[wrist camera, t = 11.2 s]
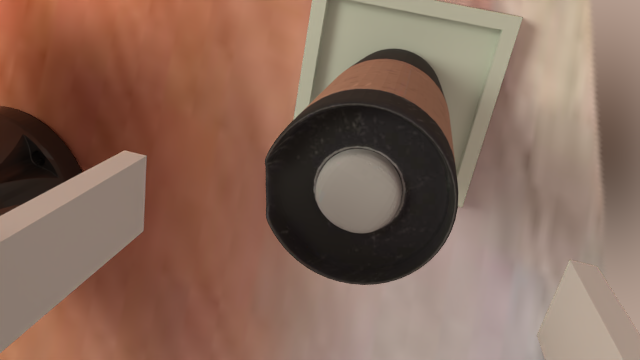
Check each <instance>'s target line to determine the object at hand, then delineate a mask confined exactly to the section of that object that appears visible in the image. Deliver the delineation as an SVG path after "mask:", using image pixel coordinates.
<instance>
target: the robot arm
mask: <svg viewBox="0 0 640 360" xmlns="http://www.w3.org/2000/svg"><path fill="white" fill-rule="evenodd" d="M146 160H147V156H146V155H142V154H138V153H134V152H130V151H125V150H124V151H122V152H120V153H118V154H117V155H115V156H113V157H111V158H109V159H107V160H105V161H103V162H101V163H100V164H98V165H96V166H94V167H92V168H90V169H88V170H86V171H84V172H83V173H82V172H81V170H80V168H79V166H78V163H77V162H76V160H75V158H74V156H73V155H72V153H71V152H70V150H69V149H68V147H67V146H66V145H65V144H64V142H63V141H62V140H61V139H60V138H59V137H58V136H57V135H56V134H55V133H54V132H53V131H52V130H51V129H50V128H48V127H47V126H46V125H45V124H43V123H42V122H40V121H39V120H37V119H36V118H34V117H32V116H30V115H29V114H26V113H24V112H22V111H19V110H16V109H13V108H9V107H3V106H0V353H1V352H2V351H3V350H4V349H5V348H7V347H8V346H9V345H10V344H11V343H13V342H14V341H15V340H16V339H17V338H18V337H20V336H21V335H22V334H23V333H24V332H25V331H27V330H28V329H29V328H30V327H31V326H33V325H34V324H35V323H36V322H37V321H38V320H40V319H41V318H42V317H43V316H44V315H45V314H47V313H48V312H49V311H50V310H51V309H53V308H54V307H55V306H56V305H57V304H58V303H60V302H61V301H62V300H63V299H64V298H65V297H67V296H68V295H69V294H70V293H71V292H72V291H74V290H75V289H76V288H77V287H78V286H80V285H81V284H82V283H83V282H84V281H85V280H87V279H88V278H89V277H90V276H91V275H92V274H94V273H95V272H96V271H97V270H98V269H100V268H101V267H102V266H103V265H104V264H105V263H107V262H108V261H109V260H110V259H111V258H112V257H114V256H115V255H116V254H117V253H118V252H120V251H121V250H122V249H123V248H124V247H125V246H127V245H128V244H129V243H130V242H131V241H132V240H134V239H135V238H136V237H137V236H138V235H139V234H141V233H142V232H143V231H144V210H145V185H146ZM537 337H538V340H539V343H540V346H541V349H542V352H543V355H544V358H545V360H640V334H639V332H638V331H637V329H636V328H635V326H634V325H633V323H632V321H631V320H630V318H629V317H628V315H627V314H626V312H625V310H624V308H623V307H622V305H621V304H620V302H619V300H618V299H617V297H616V296H615V294H614V292H613V291H612V289H611V287H610V286H609V284H608V283H607V281H606V279H605V278H604V276H603V275H602V273H601V271H600V270H599V268H598V267H597V266H594V265H590V264H586V263H582V262H578V261H574V260H569V263H568V265H567V267H566V270H565V272H564V274H563V276H562V279H561V281H560V283H559V286H558V288H557V290H556V293H555V295H554V297H553V300H552V302H551V304H550V307H549V309H548V311H547V313H546V316H545V318H544V320H543V323H542V325H541V327H540V330H539V332H538V334H537Z"/></svg>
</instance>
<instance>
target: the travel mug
mask: <svg viewBox="0 0 640 360" xmlns="http://www.w3.org/2000/svg"><path fill="white" fill-rule="evenodd" d="M265 166H266V218H267V221H268V224H269V226H270V228H271V229H272V231H273V233H274V234H275V236H276V237H277V239H278V240H279V242H280V243H281V244H282V245H283V247H284V248H285V249H286V250H287V251H288V252H289V253H290V254H291V255H292V256H293V257H294V258H295V259H296V260H297V261H299V262H300V263H301V264H303V265H304V266H306V267H307V268H309V269H310V270H312V271H314V272H316V273H318V274H320V275H322V276H324V277H327V278H329V279H333V280H336V281H339V282H344V283H350V284H360V285H369V284H380V283H386V282H390V281H394V280H397V279H400V278H402V277H405V276H407V275H409V274H411V273H413V272H414V271H416V270H418V269H420V268H421V267H422V266H424V265H425V264H426V263H427V262H429V261H430V260H431V259H432V258H433V257H434V256H435V255H436V254H437V253H438V251H439V250H440V249H441V247H442V246H443V245H444V243H445V242H446V240H447V238H448V236H449V234H450V232H451V230H452V227H453V224H454V222H455V218H456V213H457V208H458V182H457V173H456V165H455V157H454V149H453V141H452V132H451V124H450V116H449V111H448V106H447V103H446V100H445V97H444V93H443V90H442V87H441V84H440V82H439V79H438V77H437V75H436V73H435V71H434V70H433V68H432V67H431V66H430V65H429V64H428V63H427V62H426V61H425V60H424V59H423V58H422V57H420V56H419V55H417V54H415V53H413V52H410V51H407V50H403V49H384V50H380V51H376V52H374V53H372V54H370V55H368V56H366V57H365V58H363V59H361V60H360V61H358V62H357V63H355V64H354V65H352V66H351V67H349V68H348V69H347V70H345V71H344V72H343V73H341V74H340V75H339V76H338V77H337V78H336V79H335V80H334V81H333V82H332V83H331V84H330V85H329V86H328V87H327V88H326V89H325V90H324V91H322V92H321V93H320V94H319V95H318V96H317V97H316V98H315V99H314V100H313V101H312V102H311V103H310V104H309V105H308V106H307V107H306V108H305V109H304V110H303V111H302V112H301V113H300V114H299V115H298V116H297V117H296V118H295V119H294V120H293V121H292V122H291V123H290V124H289V125H288V126H287V127H286V129H285V130H284V131H283V132H282V133H281V134H280V135H279V137H278V138H277V139H276V141H275V142H274V144H273V145H272V147H271V148H270V150H269V152H268V154H267V156H266V159H265Z"/></svg>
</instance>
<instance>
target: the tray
mask: <svg viewBox="0 0 640 360" xmlns="http://www.w3.org/2000/svg"><path fill="white" fill-rule="evenodd" d="M522 18H523V17H520V16H515V15H510V14H504V13H499V12H494V11H489V10H483V9H478V8H473V7H468V6H463V5H457V4H452V3H447V2H442V1H436V0H312V6H311V12H310V18H309V25H308V31H307V37H306V44H305V50H304V56H303V63H302V69H301V75H300V81H299V88H298V94H297V100H296V107H295V113H294V119H295V118H296V117H297V116H298V115H299V114H300V113H301V112H302V111H303V110H304V109H305V108H306V107H307V106H308V105H309V104H310V103H311V102H312V101H313V100H314V99H315V98H316V97H317V96H318V95H319V94H320V93H321V92H322V91H324V90H325V89H326V88H327V87H328V86H329V85H330V84H331V83H332V82H333V81H334V80H335V79H336V78H337V77H338V76H339V75H340V74H341V73H343V72H344V71H345V70H347V69H348V68H349V67H351V66H352V65H354V64H355V63H357V62H358V61H360V60H361V59H363V58H365V57H366V56H368V55H370V54H372V53H374V52H376V51H380V50H384V49H403V50H407V51H410V52H413V53H415V54H417V55H419V56H420V57H422V58H423V59H424V60H425V61H426V62H427V63H428V64H429V65H430V66H431V67H432V68H433V70H434V71H435V73H436V75H437V77H438V79H439V82H440V84H441V87H442V90H443V93H444V97H445V100H446V103H447V106H448V111H449V116H450V124H451V132H452V141H453V149H454V157H455V165H456V173H457V182H458V207H463V204H464V200H465V197H466V194H467V191H468V188H469V185H470V182H471V178H472V175H473V172H474V169H475V166H476V163H477V160H478V156H479V153H480V150H481V147H482V144H483V141H484V138H485V135H486V131H487V128H488V125H489V122H490V119H491V116H492V113H493V109H494V106H495V103H496V100H497V97H498V94H499V91H500V87H501V84H502V81H503V78H504V75H505V72H506V69H507V65H508V62H509V59H510V56H511V53H512V50H513V47H514V43H515V40H516V37H517V34H518V31H519V28H520V25H521V22H522ZM294 119H293V120H294Z"/></svg>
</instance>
